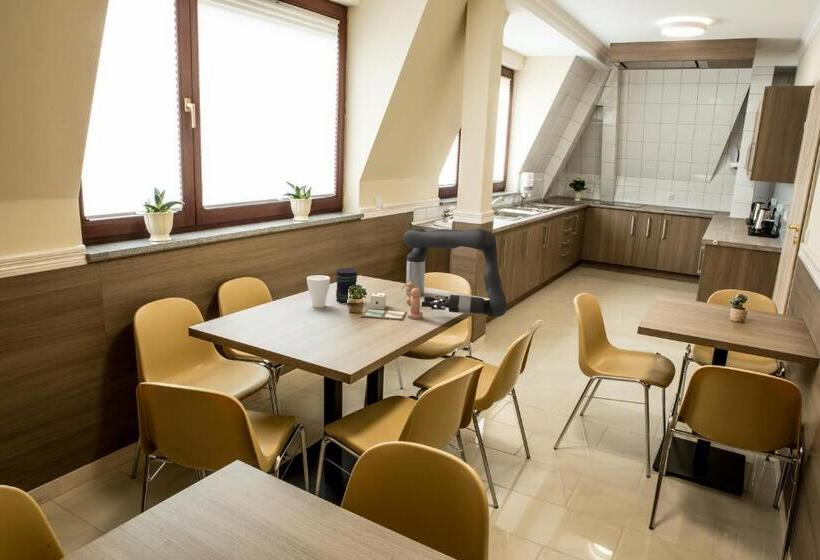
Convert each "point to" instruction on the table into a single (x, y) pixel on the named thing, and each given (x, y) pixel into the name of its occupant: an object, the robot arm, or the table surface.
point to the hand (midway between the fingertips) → (423, 301)
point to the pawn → (415, 304)
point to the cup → (318, 289)
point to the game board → (383, 314)
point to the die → (378, 301)
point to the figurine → (409, 291)
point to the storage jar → (344, 283)
